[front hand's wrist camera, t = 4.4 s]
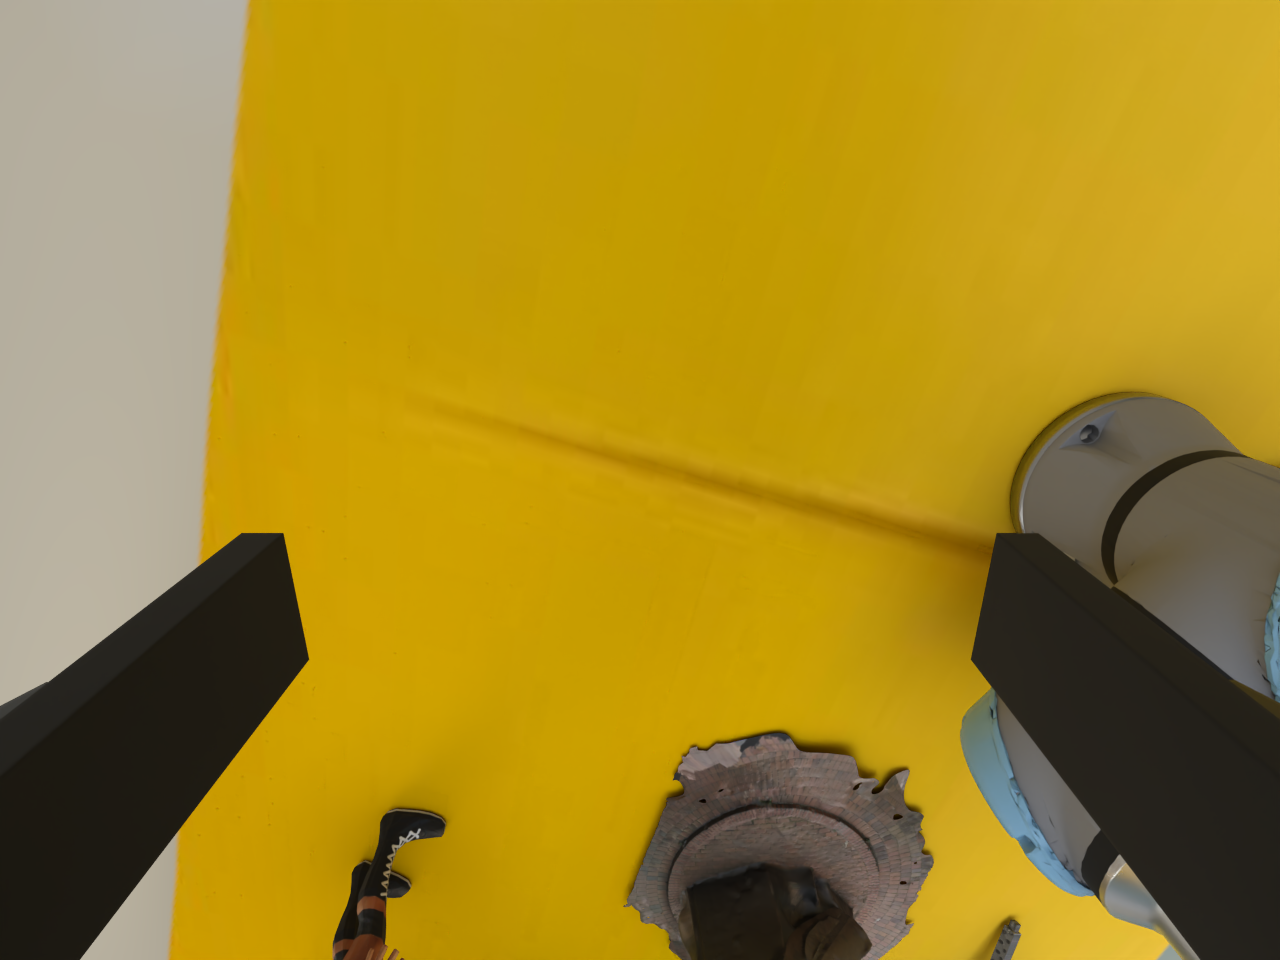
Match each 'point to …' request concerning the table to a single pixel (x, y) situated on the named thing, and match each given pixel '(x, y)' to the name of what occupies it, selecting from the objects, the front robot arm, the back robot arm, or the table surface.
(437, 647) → the table surface
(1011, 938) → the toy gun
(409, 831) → the figurine
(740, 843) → the sculpture
